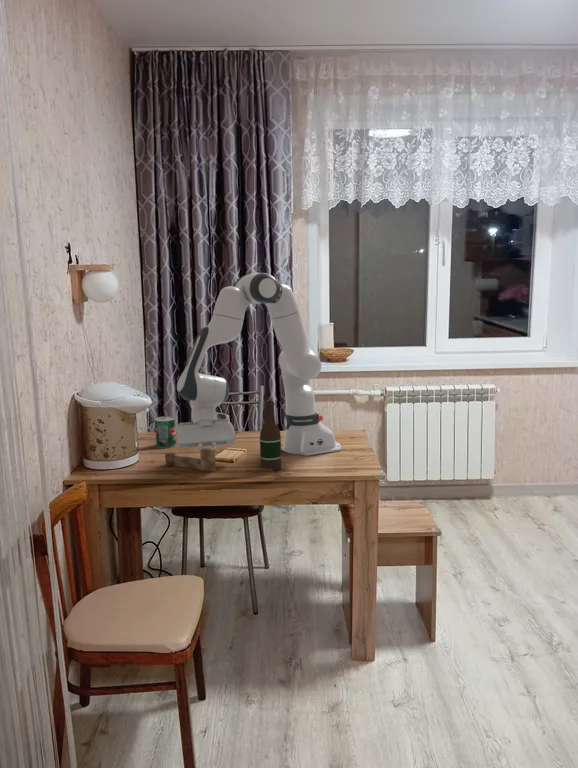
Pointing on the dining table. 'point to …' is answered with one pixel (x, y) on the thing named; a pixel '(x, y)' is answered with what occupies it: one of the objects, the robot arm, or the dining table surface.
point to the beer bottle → (270, 440)
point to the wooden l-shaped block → (193, 460)
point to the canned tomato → (165, 432)
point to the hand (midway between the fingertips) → (208, 455)
